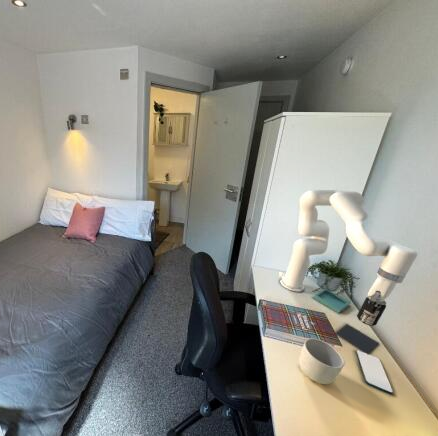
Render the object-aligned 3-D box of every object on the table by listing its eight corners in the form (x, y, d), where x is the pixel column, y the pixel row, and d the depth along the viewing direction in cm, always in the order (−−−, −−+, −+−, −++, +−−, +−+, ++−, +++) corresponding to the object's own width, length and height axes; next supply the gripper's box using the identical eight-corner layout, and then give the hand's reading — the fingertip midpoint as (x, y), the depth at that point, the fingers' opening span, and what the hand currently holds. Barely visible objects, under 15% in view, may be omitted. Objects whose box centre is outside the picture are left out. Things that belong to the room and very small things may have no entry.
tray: (313, 298, 131) (314, 294, 130) (324, 291, 137) (325, 288, 136) (338, 313, 121) (340, 309, 120) (349, 305, 127) (350, 302, 126)
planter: (314, 355, 96) (323, 336, 92) (342, 386, 85) (353, 366, 81) (289, 358, 94) (296, 339, 90) (313, 390, 83) (323, 370, 79)
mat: (335, 333, 108) (335, 332, 108) (346, 324, 114) (347, 323, 114) (367, 354, 98) (368, 353, 98) (378, 343, 104) (378, 342, 104)
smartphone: (393, 395, 83) (378, 359, 96) (394, 393, 83) (379, 358, 96) (365, 383, 87) (354, 350, 100) (366, 381, 86) (355, 349, 99)
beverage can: (367, 316, 105) (378, 295, 101) (379, 327, 99) (392, 306, 95) (352, 314, 106) (363, 293, 101) (363, 325, 100) (375, 304, 95)
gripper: (386, 265, 100) (369, 297, 107) (370, 275, 92) (353, 309, 99) (410, 274, 94) (390, 308, 101) (395, 285, 86) (375, 321, 93)
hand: (372, 308), depth 100 cm, fingers closed on beverage can, 6 cm apart
